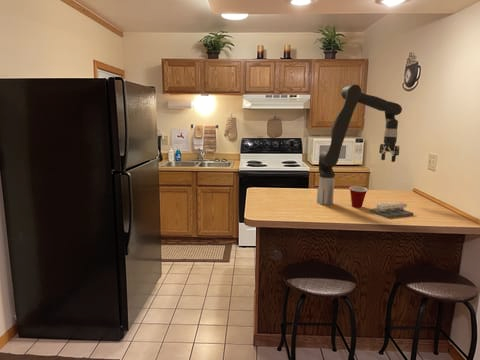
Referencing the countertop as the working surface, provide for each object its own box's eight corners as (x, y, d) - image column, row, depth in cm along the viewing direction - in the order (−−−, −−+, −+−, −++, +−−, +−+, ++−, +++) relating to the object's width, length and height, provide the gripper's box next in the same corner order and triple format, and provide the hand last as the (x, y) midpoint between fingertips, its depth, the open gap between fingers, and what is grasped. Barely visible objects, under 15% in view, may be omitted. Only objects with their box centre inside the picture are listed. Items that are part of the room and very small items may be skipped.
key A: (382, 212, 190) (382, 205, 189) (376, 210, 194) (376, 203, 193) (388, 211, 191) (389, 204, 191) (382, 209, 196) (383, 202, 195)
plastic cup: (350, 209, 204) (351, 189, 201) (345, 204, 214) (347, 185, 212) (368, 209, 203) (370, 190, 201) (363, 204, 214) (364, 186, 211)
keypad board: (387, 218, 186) (388, 211, 185) (369, 211, 199) (370, 204, 198) (412, 215, 192) (413, 208, 191) (394, 208, 205) (394, 202, 204)
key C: (400, 210, 194) (400, 203, 193) (394, 208, 198) (394, 201, 198) (406, 209, 196) (407, 203, 195) (400, 207, 200) (400, 201, 199)
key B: (391, 211, 192) (391, 204, 191) (385, 209, 196) (385, 202, 195) (397, 210, 193) (398, 203, 193) (391, 208, 198) (392, 201, 197)
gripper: (377, 135, 222) (375, 159, 225) (394, 136, 208) (392, 162, 212) (386, 135, 224) (384, 159, 227) (403, 136, 211) (401, 162, 214)
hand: (388, 160), depth 219 cm, fingers open, 8 cm apart
